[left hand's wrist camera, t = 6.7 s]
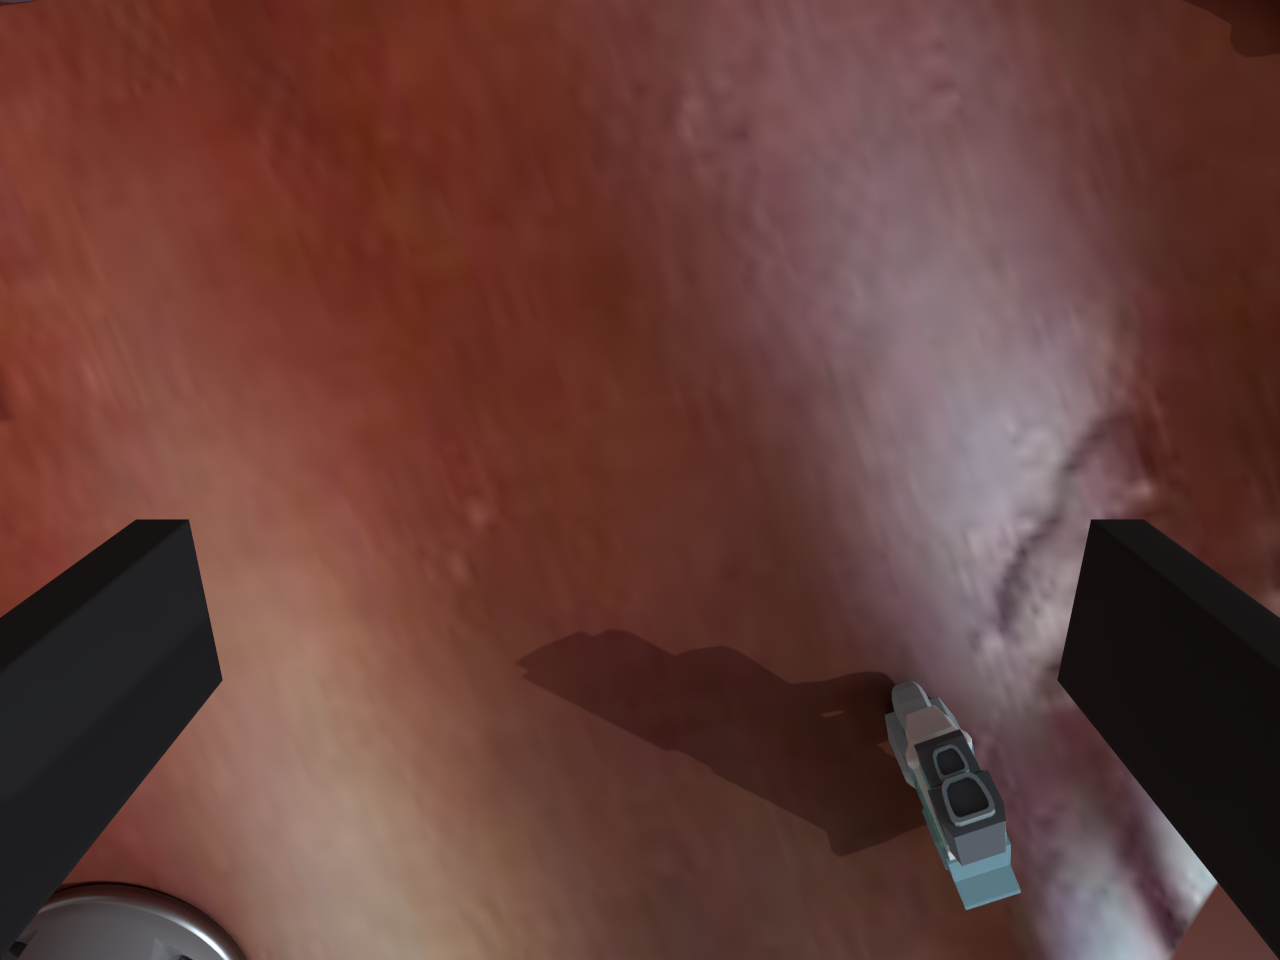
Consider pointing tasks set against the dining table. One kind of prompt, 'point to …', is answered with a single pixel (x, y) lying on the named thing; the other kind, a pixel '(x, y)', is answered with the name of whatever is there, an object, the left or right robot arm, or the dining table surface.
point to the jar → (13, 1)
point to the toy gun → (953, 795)
